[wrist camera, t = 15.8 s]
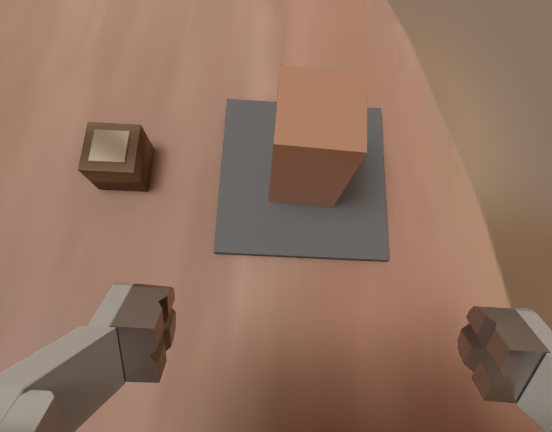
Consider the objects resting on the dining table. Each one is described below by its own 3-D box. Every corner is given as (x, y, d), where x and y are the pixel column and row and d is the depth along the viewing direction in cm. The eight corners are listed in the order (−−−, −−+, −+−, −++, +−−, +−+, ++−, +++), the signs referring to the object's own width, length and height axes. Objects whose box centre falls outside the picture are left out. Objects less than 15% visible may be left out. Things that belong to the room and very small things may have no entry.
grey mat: (386, 261, 31) (389, 260, 30) (214, 253, 30) (213, 252, 29) (378, 112, 35) (380, 108, 34) (227, 102, 34) (227, 99, 34)
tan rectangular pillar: (332, 207, 31) (366, 152, 22) (268, 201, 31) (273, 144, 21) (334, 149, 33) (367, 74, 23) (273, 143, 33) (280, 65, 23)
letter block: (148, 192, 31) (132, 171, 27) (99, 189, 31) (76, 168, 27) (154, 149, 33) (140, 123, 29) (107, 146, 32) (86, 120, 28)
